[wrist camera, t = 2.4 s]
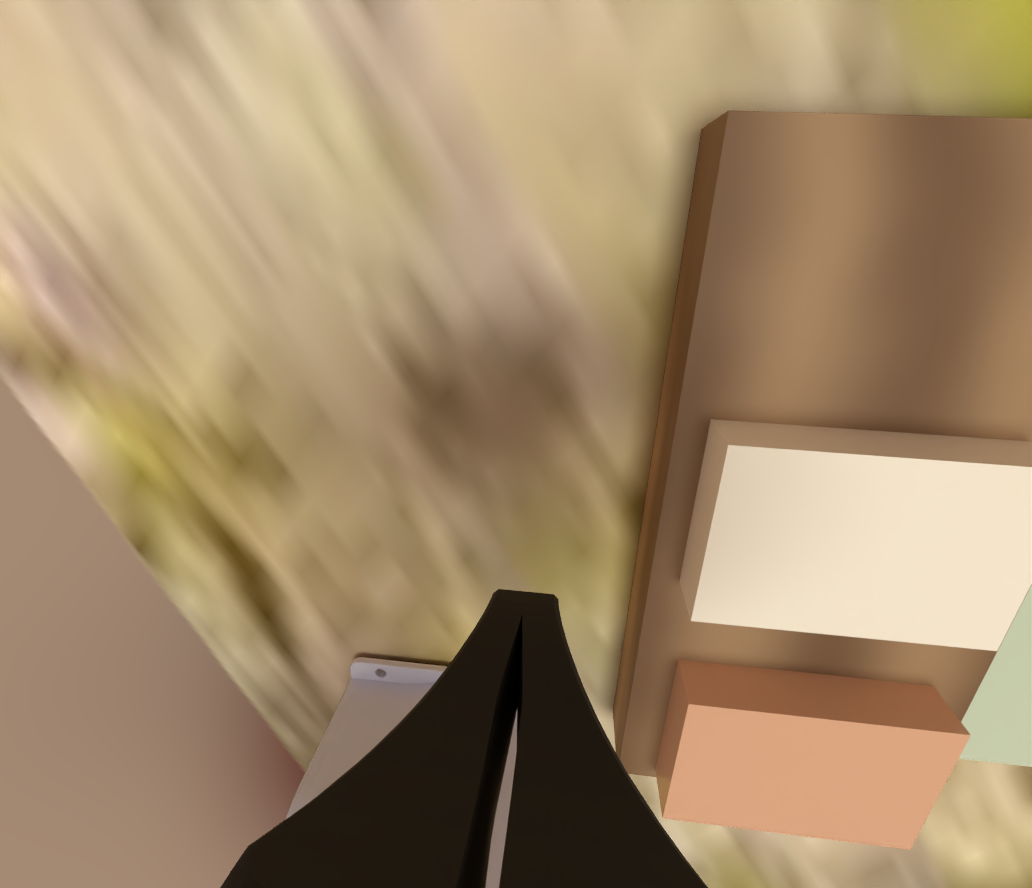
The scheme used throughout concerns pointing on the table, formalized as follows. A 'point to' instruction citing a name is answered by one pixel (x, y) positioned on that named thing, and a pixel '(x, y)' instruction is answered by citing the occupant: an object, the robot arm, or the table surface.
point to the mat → (1005, 700)
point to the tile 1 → (860, 533)
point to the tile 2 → (805, 753)
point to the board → (830, 351)
